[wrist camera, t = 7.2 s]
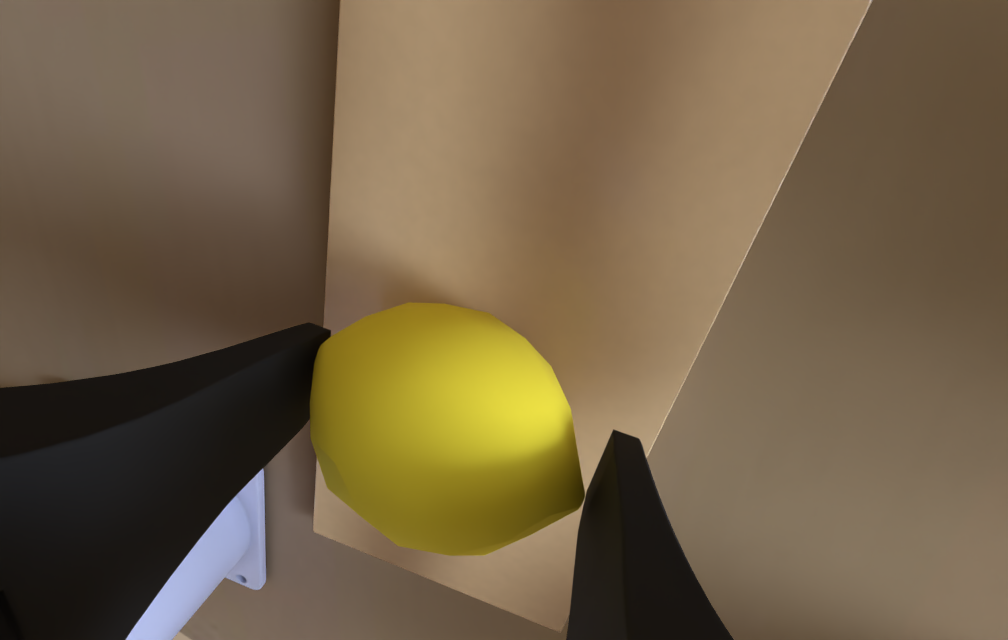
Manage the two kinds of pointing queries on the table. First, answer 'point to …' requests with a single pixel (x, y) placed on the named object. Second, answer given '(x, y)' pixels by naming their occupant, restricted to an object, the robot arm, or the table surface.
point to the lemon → (444, 429)
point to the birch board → (563, 203)
